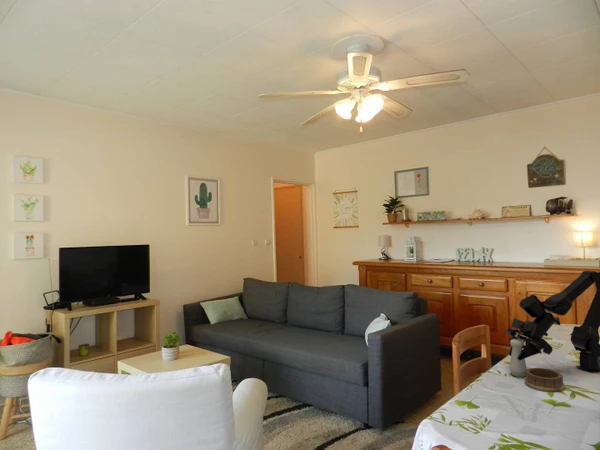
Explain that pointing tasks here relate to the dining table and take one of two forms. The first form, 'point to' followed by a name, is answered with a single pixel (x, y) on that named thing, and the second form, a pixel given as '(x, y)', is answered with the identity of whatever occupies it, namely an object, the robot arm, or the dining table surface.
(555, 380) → the collar stand
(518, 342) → the salt shaker
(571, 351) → the dining table surface
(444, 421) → the dining table surface
